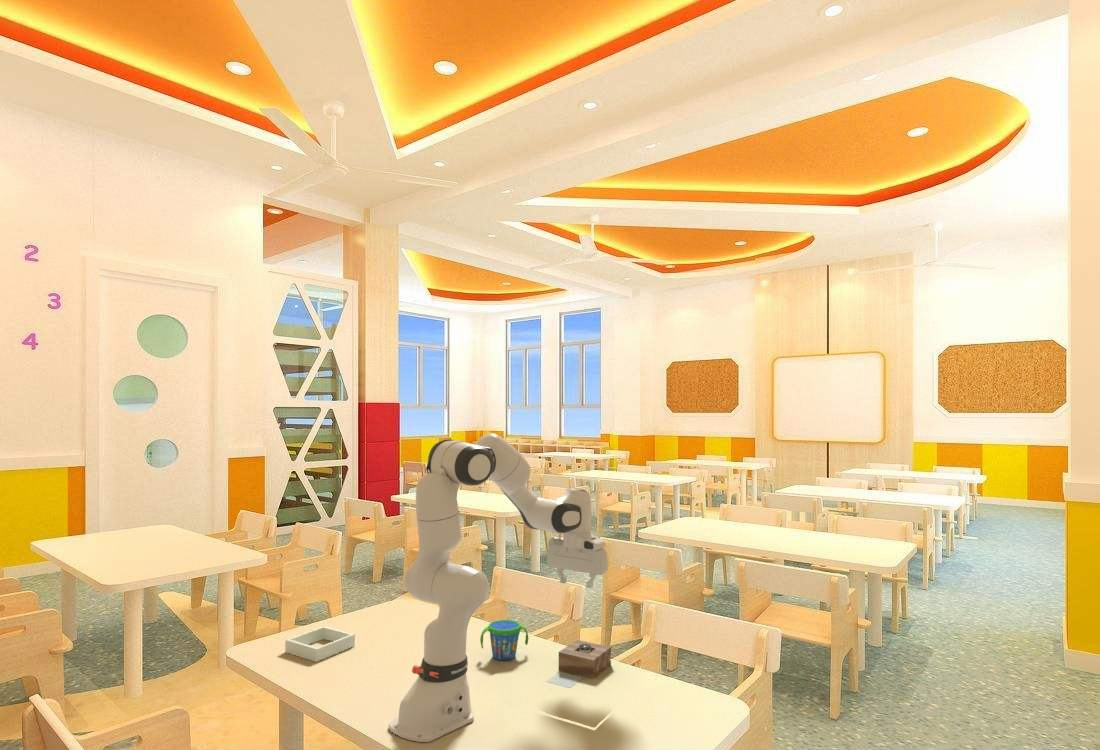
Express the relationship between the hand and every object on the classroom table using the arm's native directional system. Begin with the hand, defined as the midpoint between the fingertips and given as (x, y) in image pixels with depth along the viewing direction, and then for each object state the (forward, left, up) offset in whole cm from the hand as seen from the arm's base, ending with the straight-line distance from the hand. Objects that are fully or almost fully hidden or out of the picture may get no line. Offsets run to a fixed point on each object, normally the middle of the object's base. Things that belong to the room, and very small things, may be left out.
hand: (576, 585), depth 195 cm
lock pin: (+1, -2, -26) cm, 26 cm away
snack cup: (-4, +25, -26) cm, 36 cm away
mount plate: (-10, -1, -26) cm, 27 cm away
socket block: (+1, -2, -26) cm, 26 cm away
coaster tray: (-31, +81, -26) cm, 90 cm away
